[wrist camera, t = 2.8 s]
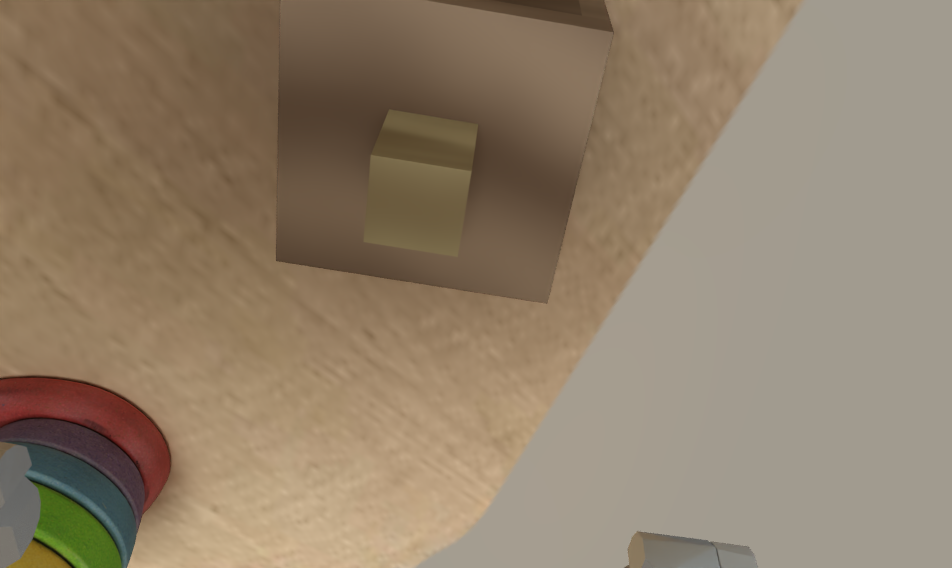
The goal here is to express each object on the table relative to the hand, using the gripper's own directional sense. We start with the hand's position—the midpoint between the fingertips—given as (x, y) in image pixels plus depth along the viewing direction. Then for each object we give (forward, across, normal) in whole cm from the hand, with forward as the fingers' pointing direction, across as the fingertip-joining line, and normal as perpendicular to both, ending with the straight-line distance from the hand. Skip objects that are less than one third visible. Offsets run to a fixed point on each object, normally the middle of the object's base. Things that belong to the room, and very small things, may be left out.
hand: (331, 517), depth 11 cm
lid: (+16, 0, +1) cm, 16 cm away
